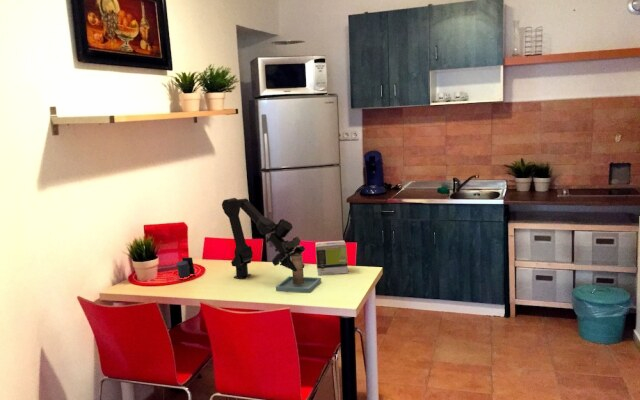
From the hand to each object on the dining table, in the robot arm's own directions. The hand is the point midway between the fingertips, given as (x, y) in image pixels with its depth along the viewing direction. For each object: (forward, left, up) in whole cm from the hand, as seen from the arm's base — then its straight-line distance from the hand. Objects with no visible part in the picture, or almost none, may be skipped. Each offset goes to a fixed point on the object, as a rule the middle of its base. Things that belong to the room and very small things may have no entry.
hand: (300, 269), depth 250 cm
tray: (0, -1, -8) cm, 8 cm away
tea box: (-25, +7, -8) cm, 28 cm away
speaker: (-3, -63, -8) cm, 64 cm away
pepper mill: (0, -1, -7) cm, 7 cm away
